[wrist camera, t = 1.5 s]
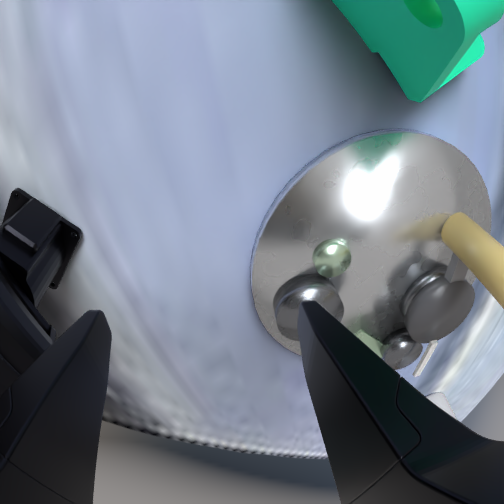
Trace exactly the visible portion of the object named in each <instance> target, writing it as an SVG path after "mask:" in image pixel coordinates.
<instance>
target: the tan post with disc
mask: <svg viewBox="0 0 504 504" xmlns="http://www.w3.org/2000/svg"><path fill="white" fill-rule="evenodd" d="M441 238H442V241H443V242H444V243H445V244H446V245H447V246H448V247H449V248H450V249H451V250H452V252H453V254H452V257H451V260H450V263H449V265H448V268H447V271H446V274H445V275H443V276H441V277H439V278H437V279H435V280H433V281H432V282H430V283H429V284H427V285H426V286H425V287H424V288H423V289H422V290H421V291H420V292H419V293H418V294H417V295H416V296H415V297H414V299H413V300H412V301H411V303H410V305H409V306H408V309H407V311H406V314H405V318H404V323H405V327H406V329H407V331H408V332H409V334H410V336H411V337H412V339H413V340H414V341H416V342H418V343H429V345H428V347H427V349H426V351H425V353H424V354H423V356H422V358H421V360H420V362H419V364H418V365H417V367H416V369H415V371H414V372H413V376H414V377H416V376H420V374H421V372H422V371H423V369H424V367H425V365H426V364H427V362H428V360H429V358H430V357H431V355H432V353H433V351H434V349H435V348H436V346H437V344H438V342H437V340H439V339H441V338H443V337H445V336H447V335H448V334H450V333H451V332H452V331H454V330H455V329H456V328H457V327H458V326H459V325H460V324H461V323H462V322H463V321H464V319H465V318H466V317H467V315H468V314H469V312H470V310H471V308H472V306H473V303H474V298H475V292H474V289H473V287H472V286H471V285H470V283H469V282H468V281H467V280H466V279H465V276H466V274H467V271H468V269H470V271H471V272H472V273H473V274H474V275H475V276H476V277H477V278H478V279H479V281H480V282H481V283H482V284H483V285H484V286H485V287H486V289H487V290H488V291H489V292H490V293H491V294H492V296H493V297H494V298H495V299H496V300H497V301H498V303H499V304H500V305H501V306H502V308H503V309H504V247H503V246H502V245H501V244H500V243H499V242H497V241H496V240H495V239H494V238H493V237H492V236H491V235H490V234H488V233H487V232H486V231H485V230H484V229H483V228H481V227H480V226H479V225H478V224H477V223H475V222H474V221H473V220H472V219H471V218H469V217H468V216H467V215H466V214H464V213H462V212H458V213H455V214H453V215H452V216H450V217H449V218H448V219H447V221H446V222H445V224H444V226H443V228H442V232H441Z"/></svg>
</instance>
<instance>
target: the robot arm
mask: <svg viewBox="0 0 504 504" xmlns="http://www.w3.org/2000/svg"><path fill="white" fill-rule="evenodd" d="M16 194H18V196H19V197H17V195H16ZM73 232H74V233H76V234H77V236H75V235H74V234H73ZM81 236H82V232H81V230H80V229H79V228H78V227H77V226H75V225H73V224H72V223H70V222H69V221H67V220H66V219H64V218H63V217H61V216H60V215H59V214H57V213H56V212H54V211H53V210H51V209H50V208H48V207H47V206H45V205H44V204H42V203H41V202H39V201H38V200H37V199H35V198H33V197H32V196H30V195H29V194H27V193H26V192H24V191H23V190H21V189H20V188H16V189H15V190H14V191H12V193H11V196H10V199H9V202H8V206H7V209H6V212H5V216H4V220H3V223H2V225H1V226H0V504H93V492H94V480H95V470H96V460H97V451H98V443H99V436H100V428H101V422H102V415H103V409H104V403H105V397H106V391H107V385H108V373H109V361H110V350H111V340H112V335H111V330H110V328H109V325H108V323H107V320H106V317H105V315H104V313H103V312H102V311H101V310H89V311H87V312H86V313H85V314H84V315H83V316H82V317H80V318H79V319H78V320H77V321H76V322H75V323H74V324H73V325H72V326H71V327H70V328H69V329H68V330H67V331H66V332H64V333H63V334H62V335H61V336H60V337H59V338H58V339H57V340H56V341H55V337H56V330H55V329H54V328H53V327H52V326H51V325H49V324H48V323H47V322H46V320H45V319H44V318H43V316H42V315H41V314H40V313H39V311H38V310H37V309H36V308H37V306H38V304H39V302H40V300H41V299H42V297H43V295H44V293H45V292H46V290H47V288H48V287H50V288H52V289H57V287H58V286H59V284H60V281H61V279H62V277H63V274H64V272H65V270H66V268H67V265H68V263H69V261H70V259H71V257H72V255H73V253H74V250H75V248H76V246H77V244H78V242H79V240H80V238H81ZM53 282H54V283H55V284H54V283H53ZM297 330H298V336H299V342H300V348H301V354H302V361H303V367H304V373H305V378H306V382H307V386H308V389H309V393H310V396H311V399H312V403H313V406H314V410H315V413H316V416H317V420H318V423H319V427H320V430H321V434H322V437H323V441H324V444H325V448H326V451H327V455H328V458H329V462H330V465H331V469H332V472H333V476H334V479H335V483H336V486H337V490H338V493H339V497H340V501H341V504H504V441H496V440H491V439H488V438H485V437H482V436H481V435H479V434H477V433H475V432H474V431H472V430H471V429H469V428H468V427H466V426H465V425H463V424H462V423H461V422H459V421H458V420H456V419H455V418H454V417H452V416H451V415H449V414H448V413H447V412H445V411H444V410H442V409H441V408H440V407H438V406H437V405H436V404H434V403H433V402H432V401H430V400H429V399H428V398H426V397H425V396H424V395H423V394H421V393H420V392H419V391H418V390H417V389H416V388H414V387H413V386H412V385H411V384H410V383H409V382H407V381H406V380H405V379H404V378H403V377H400V375H399V374H398V373H397V372H396V371H395V370H394V369H393V368H392V367H390V366H389V365H388V364H387V363H386V362H385V361H384V360H383V359H381V358H380V357H379V356H378V355H377V354H376V353H375V352H374V351H372V350H371V349H370V348H369V347H368V346H367V345H366V344H365V343H363V342H362V341H361V340H360V339H359V338H358V337H357V336H356V335H354V334H353V333H352V332H351V331H350V330H349V329H348V328H347V327H345V326H344V325H343V324H342V323H341V322H340V321H339V320H337V319H336V318H335V317H334V316H333V315H332V314H331V313H330V312H328V311H327V310H326V309H325V308H324V307H323V306H322V305H321V304H319V303H318V302H317V301H315V300H310V301H302V302H301V303H300V306H299V314H298V322H297Z"/></svg>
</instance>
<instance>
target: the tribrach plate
mask: <svg viewBox="0 0 504 504" xmlns="http://www.w3.org/2000/svg"><path fill="white" fill-rule="evenodd" d="M458 212H462V213H464V214H466V215H467V216H468V217H469V218H471V219H472V220H473V221H474V222H475V223H477V224H478V225H479V226H480V227H481V228H483V229H484V230H485V231H486V232H487V233H488V234H490V231H491V207H490V200H489V196H488V192H487V188H486V186H485V183H484V181H483V179H482V176H481V175H480V173H479V172H478V170H477V168H476V167H475V165H474V164H473V163H472V162H471V161H470V160H469V158H468V157H467V156H466V155H465V154H463V153H462V152H461V151H460V150H458V149H457V148H456V147H454V146H453V145H451V144H449V143H447V142H445V141H443V140H441V139H439V138H437V137H434V136H432V135H430V134H426V133H423V132H419V131H415V130H406V129H387V130H378V131H373V132H369V133H364V134H361V135H358V136H355V137H353V138H350V139H348V140H345V141H342V142H341V143H339V144H337V145H335V146H333V147H331V148H330V149H328V150H326V151H324V152H323V153H321V154H320V155H319V156H317V157H316V158H315V159H313V160H312V161H311V162H309V163H308V164H307V165H305V166H304V167H303V168H302V169H301V170H300V171H299V172H298V173H297V174H296V175H295V176H294V177H293V178H292V179H291V180H290V181H289V182H288V183H287V184H286V186H285V187H284V188H283V189H282V191H281V192H280V193H279V194H278V196H277V197H276V198H275V200H274V202H273V203H272V205H271V207H270V208H269V210H268V212H267V213H266V215H265V217H264V219H263V222H262V224H261V226H260V228H259V231H258V233H257V236H256V240H255V243H254V247H253V250H252V258H251V266H250V273H251V287H252V294H253V299H254V304H255V308H256V310H257V313H258V315H259V318H260V320H261V322H262V323H263V325H264V327H265V328H266V330H267V331H268V332H269V333H270V335H271V336H272V337H273V338H274V339H275V340H276V341H277V342H279V343H280V344H281V345H282V346H284V347H285V348H287V349H288V350H290V351H292V352H294V353H296V354H298V355H301V356H302V354H301V348H300V342H299V336H298V330H297V322H298V314H299V306H300V303H301V302H302V301H310V300H315V301H317V302H318V303H319V304H321V305H322V306H323V307H324V308H325V309H326V310H327V311H328V312H330V313H331V314H332V315H333V316H334V317H335V318H336V319H337V320H339V321H340V322H341V323H342V324H343V325H344V326H345V327H347V328H348V329H349V330H350V331H351V332H352V333H353V334H354V335H356V336H357V337H358V338H359V339H360V340H361V341H362V342H363V343H365V344H366V345H367V346H368V347H369V348H370V349H371V350H372V351H374V352H375V353H376V354H377V355H378V356H379V357H380V358H382V357H383V359H384V361H385V362H386V363H387V364H388V365H389V366H390V367H392V368H393V369H394V370H397V369H401V368H404V367H406V366H408V365H409V364H411V363H412V362H414V361H415V360H416V359H417V358H418V357H419V356H420V354H421V352H422V349H423V347H422V345H421V343H418V342H416V341H414V340H413V339H412V337H411V336H410V334H409V332H408V331H407V329H406V327H405V323H404V318H405V314H406V311H407V309H408V306H409V305H410V303H411V301H412V300H413V299H414V297H415V296H416V295H417V294H418V293H419V292H420V291H421V290H422V289H423V288H424V287H425V286H426V285H427V284H429V283H430V282H432V281H433V280H435V279H437V278H439V277H441V276H443V275H445V274H446V271H447V268H448V265H449V263H450V260H451V257H452V254H453V252H452V250H451V249H450V248H449V247H448V246H447V245H446V244H445V243H444V242H443V241H442V238H441V232H442V228H443V226H444V224H445V222H446V221H447V219H448V218H449V217H450V216H452V215H453V214H455V213H458ZM475 278H476V276H475V275H474V274H473V273H472V272H471V271H470V269H468V271H467V274H466V276H465V279H466V280H467V281H468V282H469V283H470V285H472V283H473V282H474V280H475Z"/></svg>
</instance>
